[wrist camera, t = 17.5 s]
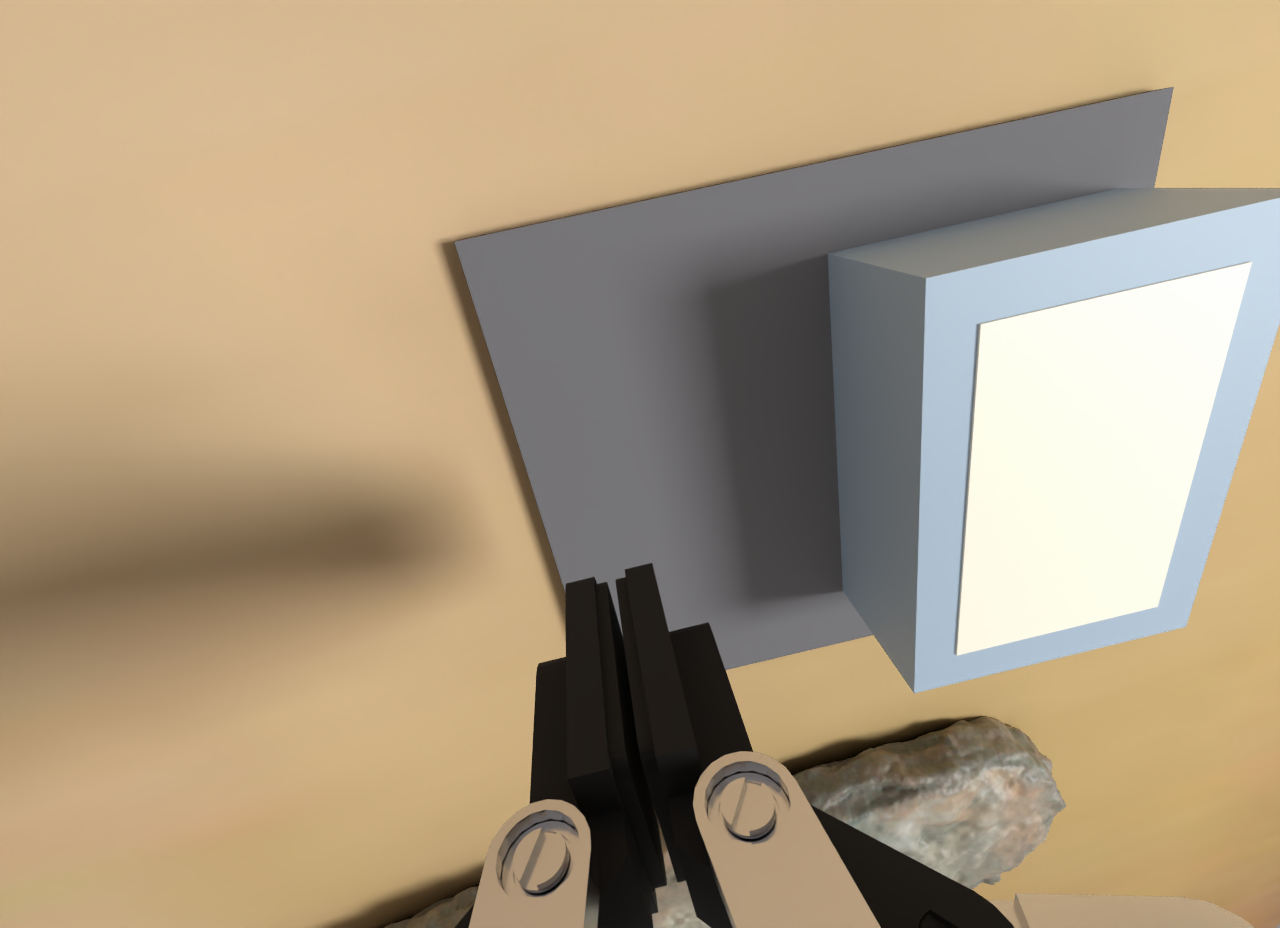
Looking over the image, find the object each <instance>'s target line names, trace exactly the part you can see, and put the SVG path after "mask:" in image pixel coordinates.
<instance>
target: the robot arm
mask: <svg viewBox="0 0 1280 928" xmlns="http://www.w3.org/2000/svg"><path fill="white" fill-rule="evenodd" d="M625 575H626V577H624V578H620V579H616V580H615V581H616V589H617V596H618V604H619V611H620V618H621V626H622V632H621V628H620V625H619V621H618V618H617V614H616V611H615V607H614V604H613V600H612V597H611V593H610V590H609V586H608V583H607V582H603V583H599V584H597V582H596V579H595V577H591V578H587V579H582V580H578V581H574V582H570V583H566V587H565V596H566V657H564V658H560V659H555V660H551V661H547V662H543V663H539V665H538V667H537V674H536V693H535V713H534V732H533V752H532V771H531V790H530V804H529V805H528V806H526V807H524V808H522V809H521V810H519V811H517V812H516V813H515V814H514V815H513V816H511V817H510V818H509V819H508V820H507V821H506V822H505V823H504V824H503V825H502V827H501V828H500V830H499V831H498V833H497V834H496V836H495V837H494V839H493V840H492V843H491V845H490V848H489V851H488V853H487V856H486V859H485V863H484V867H483V871H482V875H481V880H480V884H479V888H478V892H477V896H476V900H475V903H474V904H473V906H472V907H471V908H470V909H469V911H468V912H467V913H466V914H465V915H464V917H463V918H462V919H461V920H460V922H459V923H458V924H457V925H456V926H455V928H653V920H652V914H654V913H658V905H657V898H656V890H655V888H659V887H663V886H667V878H666V871H665V864H664V857H663V851H662V844H661V838H660V831H659V825H658V820H659V824H660V827H661V830H662V833H663V837H664V840H665V843H666V847H667V850H668V853H669V856H670V860H671V863H672V866H673V869H674V873H675V876H676V879H677V882H678V883H679V882H683V881H686V883H687V886H688V890H689V893H690V896H691V900H692V903H693V907H694V910H695V914H696V917H697V918H699V919H700V920H701V921H703V922H704V923H705V924H707V925H708V926H709V927H711V928H1255V927H1253V926H1252V925H1251V924H1249V923H1248V922H1247V921H1245V920H1244V919H1243V918H1241V917H1240V916H1238V915H1236V914H1234V913H1232V912H1230V911H1228V910H1226V909H1223V908H1221V907H1219V906H1217V905H1215V904H1213V903H1211V902H1207V901H1202V900H1197V899H1191V898H1186V897H1162V896H1117V895H1072V894H1028V893H1016V895H1015V901H1006V900H986V899H985V898H983V897H982V896H980V895H979V894H977V893H976V892H974V891H973V890H971V889H969V888H967V887H965V886H963V885H962V884H960V883H958V882H956V881H954V880H952V879H950V878H948V877H946V876H945V875H943V874H941V873H939V872H937V871H935V870H933V869H931V868H929V867H928V866H926V865H924V864H922V863H920V862H918V861H916V860H914V859H912V858H910V857H909V856H907V855H905V854H903V853H901V852H899V851H897V850H895V849H893V848H892V847H890V846H888V845H886V844H884V843H882V842H880V841H878V840H876V839H875V838H873V837H871V836H869V835H867V834H865V833H863V832H861V831H859V830H857V829H856V828H854V827H852V826H850V825H848V824H846V823H844V822H842V821H840V820H839V819H837V818H835V817H833V816H831V815H829V814H827V813H825V812H823V811H822V810H820V809H818V808H816V807H814V806H812V805H810V804H809V802H808V800H807V799H806V797H805V795H804V793H803V792H802V790H801V788H800V787H799V785H798V783H797V781H796V780H795V778H794V777H793V776H792V775H791V773H790V772H789V771H788V770H787V768H786V767H785V766H784V765H782V764H781V763H779V762H778V761H776V760H775V759H774V758H772V757H770V756H767V755H764V754H761V753H758V752H753V750H752V747H751V744H750V741H749V738H748V735H747V732H746V729H745V726H744V723H743V720H742V718H741V715H740V712H739V709H738V706H737V703H736V700H735V697H734V694H733V691H732V688H731V685H730V682H729V679H728V676H727V673H726V670H725V668H724V665H723V662H722V659H721V656H720V653H719V650H718V647H717V644H716V641H715V638H714V635H713V632H712V629H711V627H710V624H709V622H707V623H703V624H699V625H695V626H691V627H687V628H683V629H679V630H674V631H670V632H669V630H668V626H667V622H666V618H665V614H664V610H663V605H662V601H661V597H660V593H659V589H658V585H657V581H656V576H655V572H654V568H653V564H652V563H649V564H645V565H641V566H636V567H632V568H628V569H625ZM622 633H623V635H622ZM657 817H658V818H657Z"/></svg>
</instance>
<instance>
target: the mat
mask: <svg viewBox="0 0 1280 928" xmlns="http://www.w3.org/2000/svg"><path fill="white" fill-rule="evenodd" d="M1173 88H1174V87H1171V88H1164V89H1158V90H1153V91H1149V92H1144V93H1139V94H1135V95H1130V96H1125V97H1121V98H1116V99H1112V100H1107V101H1102V102H1098V103H1093V104H1088V105H1084V106H1079V107H1074V108H1070V109H1065V110H1061V111H1056V112H1051V113H1047V114H1042V115H1037V116H1033V117H1028V118H1023V119H1019V120H1014V121H1009V122H1005V123H1000V124H996V125H991V126H986V127H982V128H977V129H972V130H968V131H963V132H958V133H954V134H949V135H944V136H940V137H935V138H931V139H926V140H921V141H917V142H912V143H907V144H903V145H898V146H893V147H889V148H884V149H880V150H875V151H870V152H866V153H861V154H856V155H852V156H847V157H842V158H838V159H833V160H828V161H824V162H819V163H815V164H810V165H805V166H801V167H796V168H791V169H787V170H782V171H777V172H773V173H768V174H763V175H759V176H754V177H750V178H745V179H740V180H736V181H731V182H726V183H722V184H717V185H712V186H708V187H703V188H699V189H694V190H689V191H685V192H680V193H675V194H671V195H666V196H661V197H657V198H652V199H647V200H643V201H638V202H634V203H629V204H624V205H620V206H615V207H610V208H606V209H601V210H596V211H592V212H587V213H583V214H578V215H573V216H569V217H564V218H559V219H555V220H550V221H545V222H541V223H536V224H531V225H527V226H522V227H518V228H513V229H508V230H504V231H499V232H494V233H490V234H485V235H480V236H476V237H471V238H466V239H462V240H457V241H455V242H454V243H455V246H456V249H457V252H458V255H459V259H460V262H461V265H462V268H463V271H464V274H465V277H466V281H467V284H468V287H469V290H470V293H471V296H472V300H473V303H474V306H475V309H476V312H477V315H478V319H479V322H480V325H481V328H482V331H483V334H484V338H485V341H486V344H487V347H488V350H489V353H490V357H491V360H492V363H493V366H494V369H495V372H496V375H497V379H498V382H499V385H500V388H501V391H502V394H503V398H504V401H505V404H506V407H507V410H508V413H509V417H510V420H511V423H512V426H513V429H514V432H515V436H516V439H517V442H518V445H519V448H520V451H521V454H522V458H523V461H524V464H525V467H526V470H527V473H528V477H529V480H530V483H531V486H532V489H533V492H534V496H535V499H536V502H537V505H538V508H539V511H540V515H541V518H542V521H543V524H544V527H545V530H546V534H547V537H548V540H549V543H550V546H551V549H552V552H553V556H554V559H555V562H556V565H557V568H558V571H559V575H560V578H561V581H562V584H563V587H564V590H565V587H566V583H570V582H574V581H578V580H582V579H587V578H591V577H595V579H596V582H597V584H599V583H603V582H607V583H608V586H609V590H610V593H611V597H612V600H613V604H614V607H615V611H616V614H617V618H618V621H619V625H620V628H621V632H622V626H621V618H620V611H619V604H618V596H617V589H616V581H615V580H616V579H620V578H624V577H626V575H625V569H628V568H632V567H636V566H641V565H645V564H649V563H652V564H653V568H654V572H655V576H656V581H657V585H658V589H659V593H660V597H661V601H662V605H663V610H664V614H665V618H666V622H667V626H668V630H669V632H670V631H674V630H679V629H683V628H687V627H691V626H695V625H699V624H703V623H707V622H709V624H710V627H711V629H712V632H713V635H714V638H715V641H716V644H717V647H718V650H719V653H720V656H721V659H722V662H723V665H724V668H725V670H728V669H732V668H736V667H740V666H744V665H749V664H753V663H757V662H761V661H765V660H770V659H774V658H778V657H782V656H786V655H791V654H795V653H799V652H803V651H807V650H812V649H816V648H820V647H824V646H829V645H833V644H837V643H841V642H845V641H850V640H854V639H858V638H862V637H866V636H871V635H873V633H872V632H871V631H870V629H869V628H868V626H867V625H866V623H865V622H864V620H863V619H862V618H861V616H860V615H859V613H858V612H857V610H856V609H855V608H854V606H853V605H852V603H851V602H850V600H849V599H848V597H847V596H846V595H845V593H844V592H843V580H842V558H841V536H840V514H839V492H838V470H837V448H836V426H835V404H834V382H833V360H832V338H831V316H830V294H829V272H828V253H832V252H837V251H841V250H846V249H850V248H854V247H859V246H863V245H868V244H872V243H877V242H881V241H885V240H890V239H894V238H899V237H903V236H908V235H912V234H917V233H921V232H925V231H930V230H934V229H939V228H943V227H948V226H952V225H956V224H961V223H965V222H970V221H974V220H979V219H983V218H987V217H992V216H996V215H1001V214H1005V213H1010V212H1014V211H1018V210H1023V209H1027V208H1032V207H1036V206H1041V205H1045V204H1049V203H1054V202H1058V201H1063V200H1067V199H1072V198H1076V197H1081V196H1085V195H1089V194H1094V193H1098V192H1103V191H1107V190H1112V189H1116V188H1154V186H1155V181H1156V175H1157V170H1158V165H1159V160H1160V155H1161V150H1162V144H1163V139H1164V134H1165V129H1166V124H1167V119H1168V114H1169V108H1170V103H1171V98H1172V93H1173ZM622 635H623V633H622Z"/></svg>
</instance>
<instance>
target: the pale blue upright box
mask: <svg viewBox="0 0 1280 928" xmlns="http://www.w3.org/2000/svg"><path fill="white" fill-rule="evenodd" d="M828 272H829V294H830V316H831V338H832V360H833V382H834V404H835V426H836V448H837V470H838V492H839V514H840V536H841V558H842V580H843V592H844V593H845V595H846V596H847V597H848V599H849V600H850V602H851V603H852V605H853V606H854V608H855V609H856V610H857V612H858V613H859V615H860V616H861V618H862V619H863V620H864V622H865V623H866V625H867V626H868V628H869V629H870V631H871V632H872V633H873V635H874V636H875V638H876V639H877V641H878V642H879V643H880V645H881V646H882V648H883V649H884V651H885V652H886V654H887V655H888V656H889V658H890V659H891V661H892V662H893V664H894V665H895V666H896V668H897V669H898V671H899V672H900V674H901V675H902V677H903V678H904V679H905V681H906V682H907V684H908V685H909V687H910V688H911V689H912V691H913V692H914V693H918V692H922V691H926V690H930V689H934V688H938V687H942V686H946V685H950V684H954V683H958V682H962V681H967V680H971V679H975V678H979V677H983V676H987V675H991V674H995V673H999V672H1003V671H1007V670H1012V669H1016V668H1020V667H1024V666H1028V665H1032V664H1036V663H1040V662H1044V661H1048V660H1052V659H1056V658H1061V657H1065V656H1069V655H1073V654H1077V653H1081V652H1085V651H1089V650H1093V649H1097V648H1101V647H1106V646H1110V645H1114V644H1118V643H1122V642H1126V641H1130V640H1134V639H1138V638H1142V637H1146V636H1151V635H1155V634H1159V633H1163V632H1167V631H1171V630H1175V629H1179V628H1183V627H1186V625H1187V622H1188V618H1189V615H1190V612H1191V609H1192V605H1193V602H1194V599H1195V596H1196V593H1197V589H1198V586H1199V583H1200V580H1201V576H1202V573H1203V570H1204V567H1205V563H1206V560H1207V557H1208V554H1209V550H1210V547H1211V544H1212V541H1213V537H1214V534H1215V531H1216V528H1217V524H1218V521H1219V518H1220V515H1221V511H1222V508H1223V505H1224V502H1225V498H1226V495H1227V492H1228V489H1229V485H1230V482H1231V479H1232V476H1233V473H1234V469H1235V466H1236V463H1237V460H1238V456H1239V453H1240V450H1241V447H1242V443H1243V440H1244V437H1245V434H1246V430H1247V427H1248V424H1249V421H1250V417H1251V414H1252V411H1253V408H1254V404H1255V401H1256V398H1257V395H1258V391H1259V388H1260V385H1261V382H1262V378H1263V375H1264V372H1265V369H1266V366H1267V362H1268V359H1269V356H1270V353H1271V349H1272V346H1273V343H1274V340H1275V336H1276V333H1277V330H1278V327H1279V323H1280V188H1116V189H1112V190H1107V191H1103V192H1098V193H1094V194H1089V195H1085V196H1081V197H1076V198H1072V199H1067V200H1063V201H1058V202H1054V203H1049V204H1045V205H1041V206H1036V207H1032V208H1027V209H1023V210H1018V211H1014V212H1010V213H1005V214H1001V215H996V216H992V217H987V218H983V219H979V220H974V221H970V222H965V223H961V224H956V225H952V226H948V227H943V228H939V229H934V230H930V231H925V232H921V233H917V234H912V235H908V236H903V237H899V238H894V239H890V240H885V241H881V242H877V243H872V244H868V245H863V246H859V247H854V248H850V249H846V250H841V251H837V252H832V253H828Z"/></svg>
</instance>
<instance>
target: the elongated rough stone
mask: <svg viewBox="0 0 1280 928" xmlns="http://www.w3.org/2000/svg"><path fill="white" fill-rule="evenodd" d="M1051 769H1052V762H1051V760H1050V759H1048V758H1047V757H1046V756H1044V755H1042V754H1041V753H1040V752H1039V751H1038V749H1037V748H1036V746H1035V745H1034V743H1033V742H1032V741H1031V739H1030V738H1029V737H1028V736H1027V735H1026V734H1025V733H1023V732H1022V731H1021V730H1019V729H1017V728H1014V727H1010V726H1007V725H1004V724H1003V723H1002V722H1001V721H999V720H996V719H993V718H989V717H986V716H982V717H979V718H976V719H973V720H971V721H965V720H959V721H957V722H955V723H954V724H952V725H951V726H949V727H948V728H946V729H943V730H940V731H935V732H930V733H927V734H925V735H924V736H919V737H918V738H917V739H915V740H910V741H906V742H895V743H888V744H884V745H882V746H879V747H876V748H869V749H867V750H865V751H863V752H861V753H859V754H858V755H857V756H855V757H852V758H848V759H846V760H844V761H834V762H832V763H828V764H822V765H816V766H814V767H812V768H811V769H806V770H804V771H802V772H798V773H796V774H793V775H792V776H793V777H794V778H795V780H796V781H797V783H798V785H799V787H800V788H801V790H802V792H803V793H804V795H805V797H806V799H807V800H808V802H809V804H810V805H812V806H814V807H816V808H818V809H820V810H822V811H823V812H825V813H827V814H829V815H831V816H833V817H835V818H837V819H839V820H840V821H842V822H844V823H846V824H848V825H850V826H852V827H854V828H856V829H857V830H859V831H861V832H863V833H865V834H867V835H869V836H871V837H873V838H875V839H876V840H878V841H880V842H882V843H884V844H886V845H888V846H890V847H892V848H893V849H895V850H897V851H899V852H901V853H903V854H905V855H907V856H909V857H910V858H912V859H914V860H916V861H918V862H920V863H922V864H924V865H926V866H928V867H929V868H931V869H933V870H935V871H937V872H939V873H941V874H943V875H945V876H946V877H948V878H950V879H952V880H954V881H956V882H958V883H960V884H962V885H963V886H965V887H967V888H969V889H974V888H975V887H976V886H978V884H980V883H982V882H983V883H987V884H991V885H994V884H995V883H996V882H999V881H1000V880H1001V879H1000V873H1002V872H1006V871H1010V870H1012V869H1014V868H1015V867H1017V866H1018V865H1020V863H1021V862H1022V861H1023V860H1024V857H1025V856H1026V855H1027V854H1028V853H1030V852H1032V851H1034V850H1035V848H1036V847H1037V846H1038V845H1040V844H1041V843H1043V842H1044V841H1045V839H1046V836H1047V834H1048V832H1049V829H1050V825H1051V823H1052V820H1053V818H1054V816H1055V815H1056V814H1057V813H1058V812H1060V811H1061V810H1062V809H1064V808H1065V807H1066V804H1065V802H1064V800H1063V798H1062V797H1061V794H1060V792H1059V791H1058V789H1057V787H1056V782H1055V780H1054V779H1053V777H1052V773H1051ZM657 818H658V817H657ZM658 825H659V831H660V838H661V844H662V851H663V857H664V864H665V871H666V878H667V886H663V887H659V888H655V890H656V898H657V905H658V913H654V914H652V920H653V928H711V927H709V926H708V925H707V924H705V923H704V922H703V921H701V920H700V919H699V918H697V917H696V914H695V910H694V907H693V903H692V900H691V896H690V893H689V890H688V886H687V883H686V881H683V882H679V883H678V882H677V879H676V876H675V873H674V869H673V866H672V863H671V860H670V856H669V853H668V850H667V847H666V843H665V840H664V837H663V833H662V830H661V827H660V824H659V820H658ZM478 888H479V886H475V887H470V888H468V889H465V890H464V891H462V892H459V893H458V894H457V895H455V896H454V897H451V898H447V899H442V900H440V901H438V902H436V903H434V904H432V905H431V906H429V907H426V908H425V909H424V910H423V911H421V912H419V913H417V914H416V915H415V916H414V917H412V918H411V919H407V920H403V921H400V922H397V923H391V924H389V925H387V926H386V927H384V928H455V926H456V925H457V924H458V923H459V922H460V920H461V919H462V918H463V917H464V915H465V914H466V913H467V912H468V911H469V909H470V908H471V907H472V906H473V904H474V903H475V900H476V896H477V892H478Z"/></svg>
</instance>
